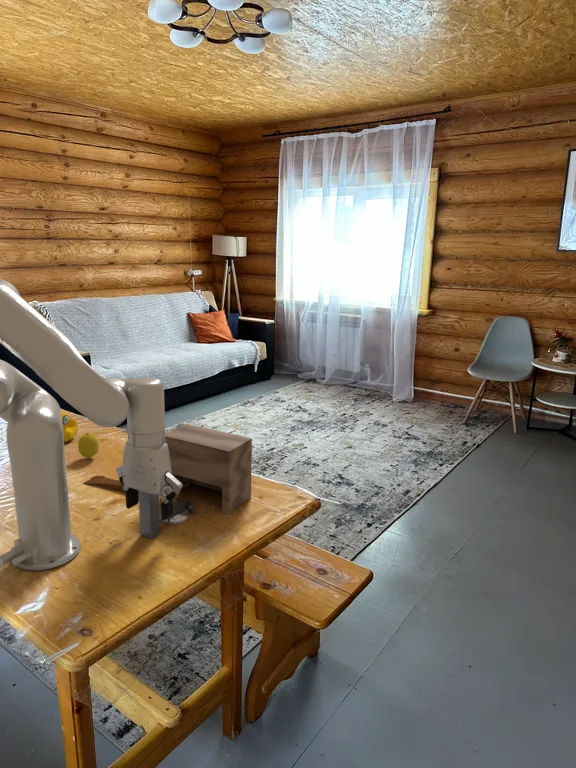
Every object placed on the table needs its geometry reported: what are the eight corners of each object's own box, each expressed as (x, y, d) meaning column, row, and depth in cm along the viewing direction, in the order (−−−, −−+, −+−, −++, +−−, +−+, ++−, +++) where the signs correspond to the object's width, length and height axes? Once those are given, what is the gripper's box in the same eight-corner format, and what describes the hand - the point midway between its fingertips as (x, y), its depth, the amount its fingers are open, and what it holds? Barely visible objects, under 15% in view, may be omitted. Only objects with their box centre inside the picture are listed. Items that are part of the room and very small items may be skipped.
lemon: (101, 460, 154) (100, 434, 152) (81, 463, 151) (80, 437, 149) (96, 453, 158) (94, 428, 156) (77, 457, 155) (75, 431, 153)
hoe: (154, 540, 114) (152, 489, 111) (136, 533, 116) (134, 483, 113) (194, 512, 126) (194, 465, 123) (178, 507, 128) (177, 461, 125)
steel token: (177, 528, 119) (177, 521, 119) (157, 521, 122) (156, 515, 122) (194, 516, 125) (193, 510, 124) (173, 510, 127) (173, 504, 127)
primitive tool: (81, 485, 139) (81, 472, 138) (96, 477, 144) (95, 465, 143) (142, 500, 132) (141, 487, 131) (155, 491, 137) (155, 478, 136)
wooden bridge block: (229, 514, 126) (229, 451, 121) (162, 494, 134) (160, 435, 130) (251, 497, 134) (251, 438, 130) (187, 480, 143) (186, 423, 139)
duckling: (59, 449, 161) (56, 417, 158) (44, 446, 162) (41, 415, 160) (83, 436, 172) (81, 407, 169) (69, 434, 173) (66, 405, 170)
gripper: (102, 434, 111) (106, 509, 115) (167, 451, 103) (170, 530, 108) (128, 424, 117) (131, 495, 122) (191, 439, 110) (192, 514, 114)
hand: (149, 511), depth 115 cm, fingers open, 9 cm apart
